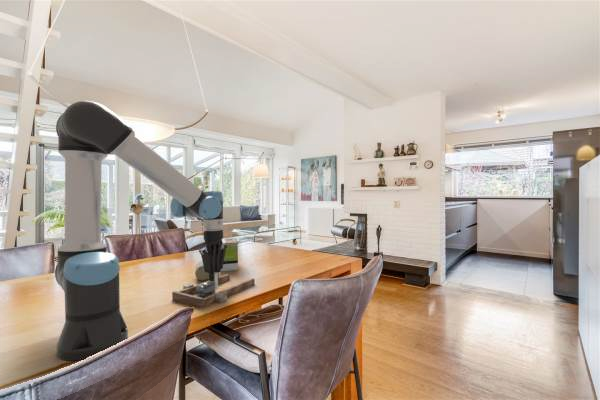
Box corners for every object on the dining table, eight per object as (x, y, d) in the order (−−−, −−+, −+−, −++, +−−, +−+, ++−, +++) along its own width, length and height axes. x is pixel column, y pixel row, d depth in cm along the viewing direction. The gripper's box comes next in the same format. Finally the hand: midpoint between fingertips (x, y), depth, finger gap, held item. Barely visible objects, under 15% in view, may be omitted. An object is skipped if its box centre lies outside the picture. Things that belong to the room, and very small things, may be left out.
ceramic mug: (194, 282, 129) (194, 265, 129) (195, 277, 137) (195, 260, 137) (219, 280, 133) (219, 263, 132) (218, 275, 140) (219, 259, 140)
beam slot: (206, 309, 99) (206, 300, 99) (168, 298, 109) (168, 290, 109) (258, 285, 125) (258, 278, 125) (224, 278, 135) (223, 272, 135)
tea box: (217, 264, 161) (217, 238, 160) (235, 263, 164) (235, 237, 163) (218, 271, 146) (217, 242, 146) (238, 270, 149) (238, 241, 149)
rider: (205, 300, 107) (204, 287, 107) (192, 297, 111) (192, 284, 111) (219, 294, 113) (219, 282, 113) (206, 291, 117) (206, 279, 117)
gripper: (207, 232, 108) (208, 295, 108) (231, 228, 119) (232, 285, 120) (193, 231, 111) (194, 291, 112) (218, 227, 123) (219, 282, 123)
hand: (214, 288), depth 116 cm, fingers closed
